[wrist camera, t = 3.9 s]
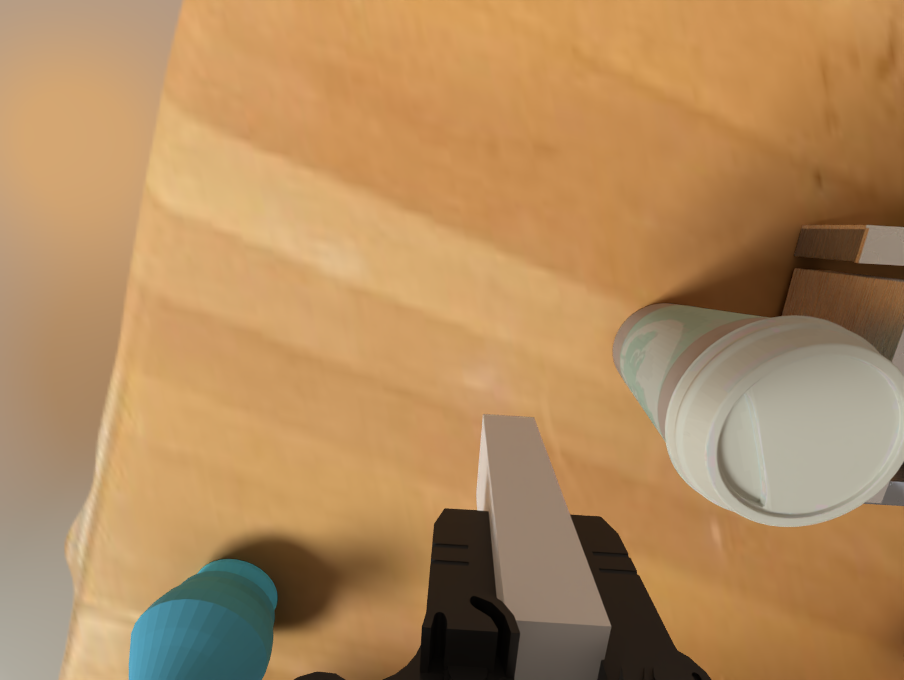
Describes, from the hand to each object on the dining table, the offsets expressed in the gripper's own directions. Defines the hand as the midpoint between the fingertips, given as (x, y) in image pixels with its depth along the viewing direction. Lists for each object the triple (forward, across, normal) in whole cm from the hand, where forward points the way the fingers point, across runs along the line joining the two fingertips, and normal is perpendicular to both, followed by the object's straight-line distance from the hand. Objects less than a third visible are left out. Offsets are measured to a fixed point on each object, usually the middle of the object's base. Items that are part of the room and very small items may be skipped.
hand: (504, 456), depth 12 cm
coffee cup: (+15, +11, 0) cm, 19 cm away
